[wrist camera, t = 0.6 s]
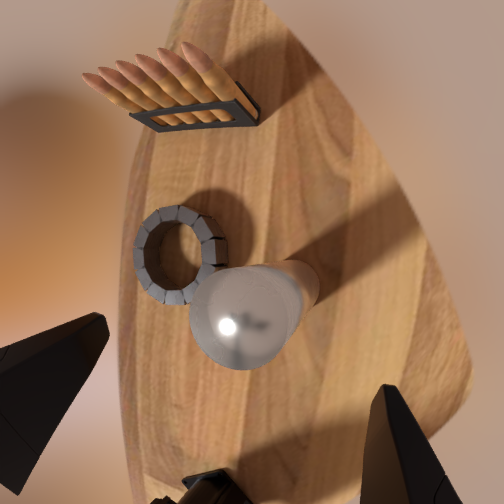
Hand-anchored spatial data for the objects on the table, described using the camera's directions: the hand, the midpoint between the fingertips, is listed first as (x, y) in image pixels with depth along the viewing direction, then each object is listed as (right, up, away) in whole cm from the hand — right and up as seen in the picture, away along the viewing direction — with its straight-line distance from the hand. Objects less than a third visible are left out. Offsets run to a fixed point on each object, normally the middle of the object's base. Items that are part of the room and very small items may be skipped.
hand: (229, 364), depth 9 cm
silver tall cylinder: (+4, 0, +16) cm, 16 cm away
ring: (-5, +3, +19) cm, 20 cm away
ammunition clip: (-4, +16, +19) cm, 25 cm away
